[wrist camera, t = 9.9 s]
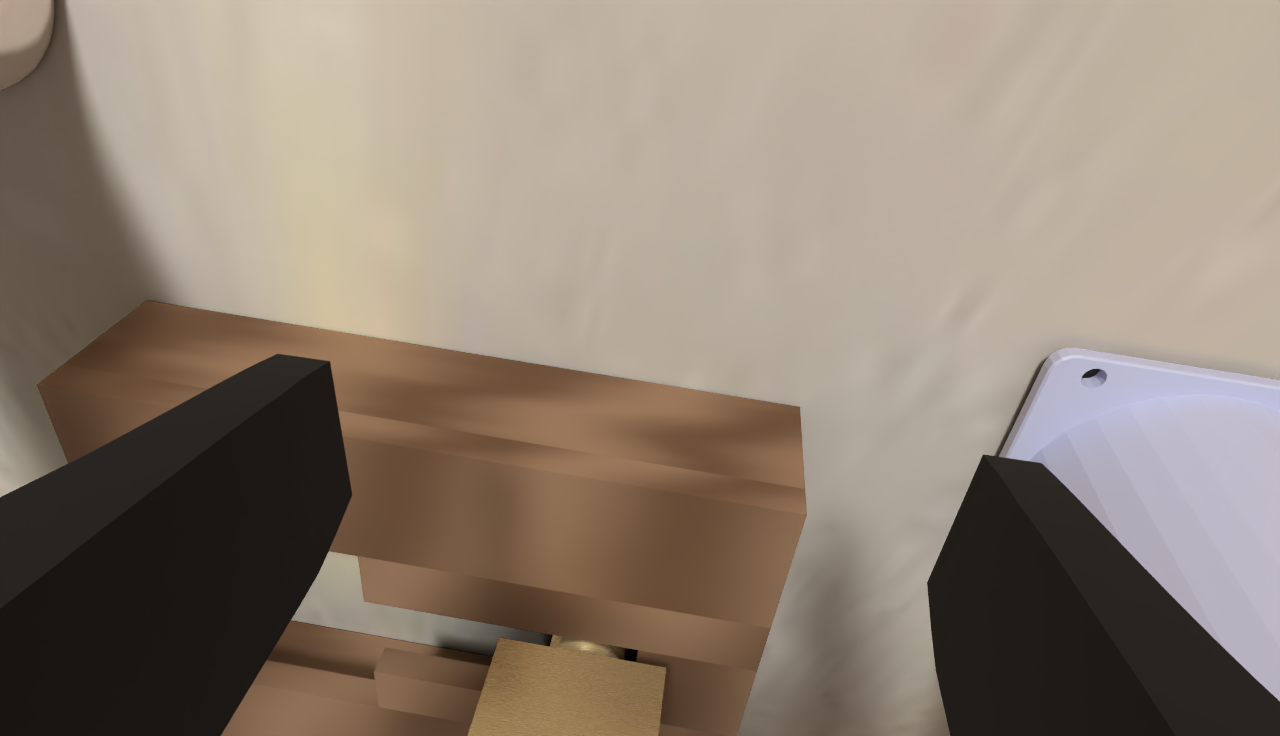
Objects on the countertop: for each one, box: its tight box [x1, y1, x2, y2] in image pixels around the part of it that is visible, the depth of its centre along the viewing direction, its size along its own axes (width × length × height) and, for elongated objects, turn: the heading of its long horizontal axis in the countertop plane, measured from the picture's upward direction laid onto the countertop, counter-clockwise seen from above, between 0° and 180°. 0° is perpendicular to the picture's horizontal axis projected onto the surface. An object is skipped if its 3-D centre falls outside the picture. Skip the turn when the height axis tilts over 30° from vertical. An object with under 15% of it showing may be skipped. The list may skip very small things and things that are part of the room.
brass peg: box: [468, 635, 666, 736], centre depth 20 cm, size 4×4×9 cm
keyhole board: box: [37, 301, 807, 736], centre depth 23 cm, size 17×14×4 cm
